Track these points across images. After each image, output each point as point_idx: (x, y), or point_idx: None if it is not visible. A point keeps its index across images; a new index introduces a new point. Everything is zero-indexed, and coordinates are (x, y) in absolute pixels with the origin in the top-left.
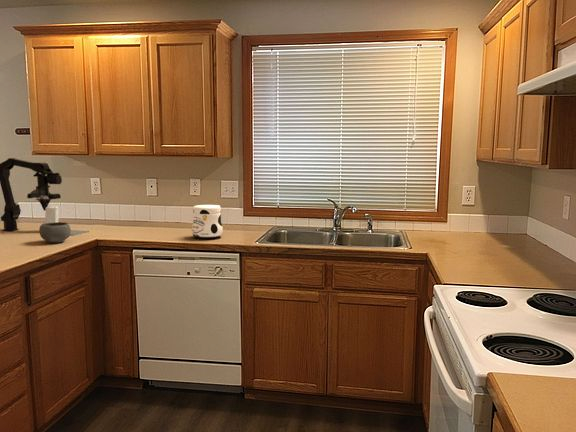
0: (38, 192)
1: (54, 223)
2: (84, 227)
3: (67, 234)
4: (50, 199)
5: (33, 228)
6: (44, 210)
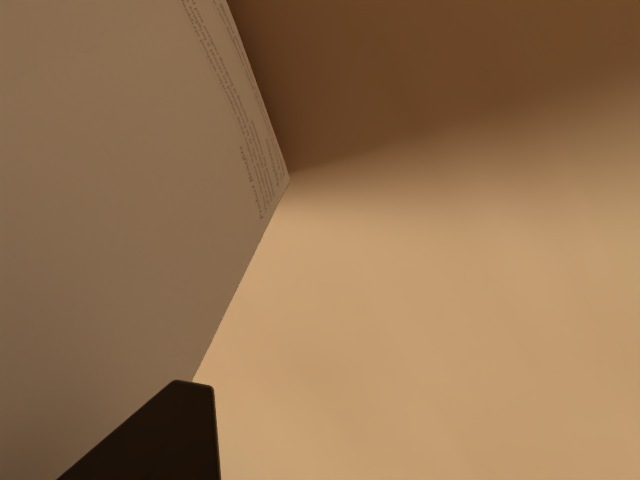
0: None
1: None
2: None
3: None
4: None
5: (633, 357)
6: (185, 381)
